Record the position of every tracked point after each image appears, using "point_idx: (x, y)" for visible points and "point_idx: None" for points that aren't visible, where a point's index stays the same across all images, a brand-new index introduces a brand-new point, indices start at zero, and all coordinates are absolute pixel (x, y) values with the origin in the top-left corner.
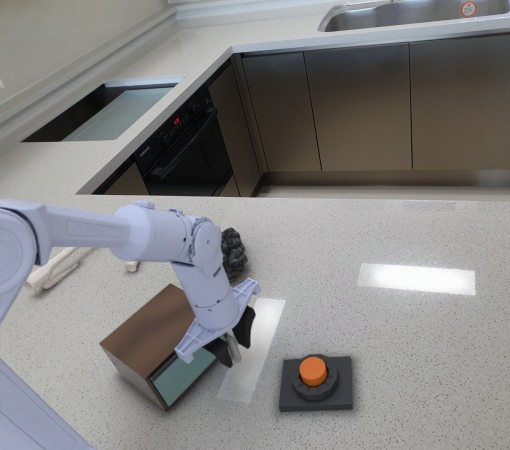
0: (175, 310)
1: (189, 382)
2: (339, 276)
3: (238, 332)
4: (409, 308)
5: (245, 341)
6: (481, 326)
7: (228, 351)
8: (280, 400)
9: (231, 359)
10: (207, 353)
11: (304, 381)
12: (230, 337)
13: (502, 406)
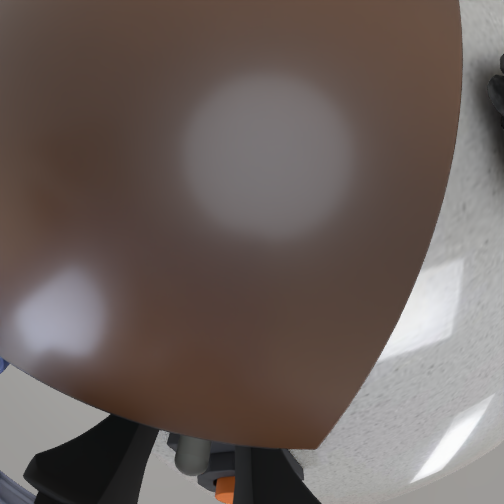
0: (152, 72)
1: None
2: (481, 385)
3: (242, 461)
4: (400, 468)
5: (236, 448)
6: (368, 498)
7: (142, 478)
8: (177, 445)
9: (156, 435)
10: None
11: (217, 483)
12: (193, 475)
13: None
